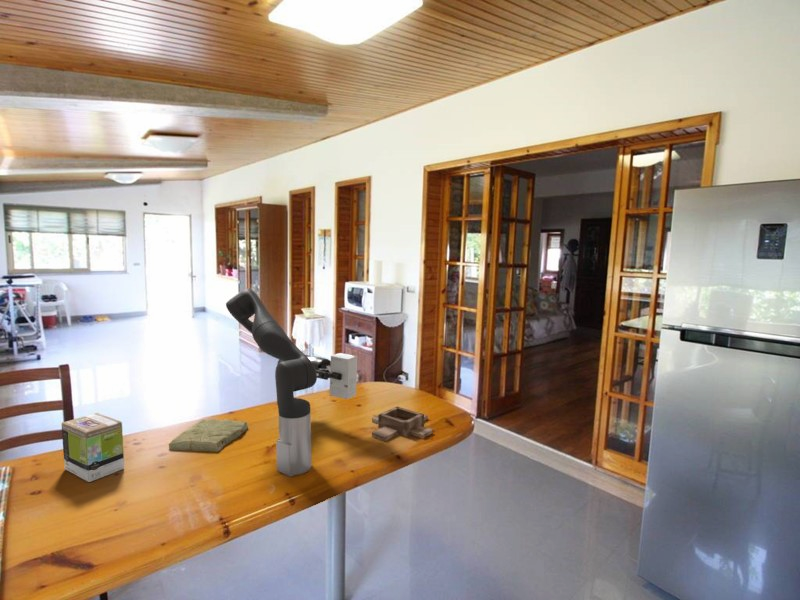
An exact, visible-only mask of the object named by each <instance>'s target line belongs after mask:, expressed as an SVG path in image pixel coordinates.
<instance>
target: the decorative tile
mask: <svg viewBox="0 0 800 600" xmlns="http://www.w3.org/2000/svg"><path fill="white" fill-rule="evenodd" d="M248 429H249V426H248V422H247V421H245V420H244V421H243V420H242V421H241V420H240V421H239V420H231V419H220V420H219V419H214V418H213V419H211V418H210V419H202V420H199V421H198V422H196V423H195V424H192V425H191V426H190V427H189V428H187V429H186V430H184V431H183V432H181V433H179V435H178V436H176V437H175V438H173V439H172V440H171V441H170V442H169V443H168V450H171V451H172V450H173V451H174V450H176V451H193V452H194V451H197V452H216V453H217V452H220V451H222V450H223V448H224V447H225V446H226V445H228V444H229V443H231V442H232V441H234V440H237V439H238V438H239V437H241V436H242V434H243V433H244V432H245V431H247V430H248Z"/></svg>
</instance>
